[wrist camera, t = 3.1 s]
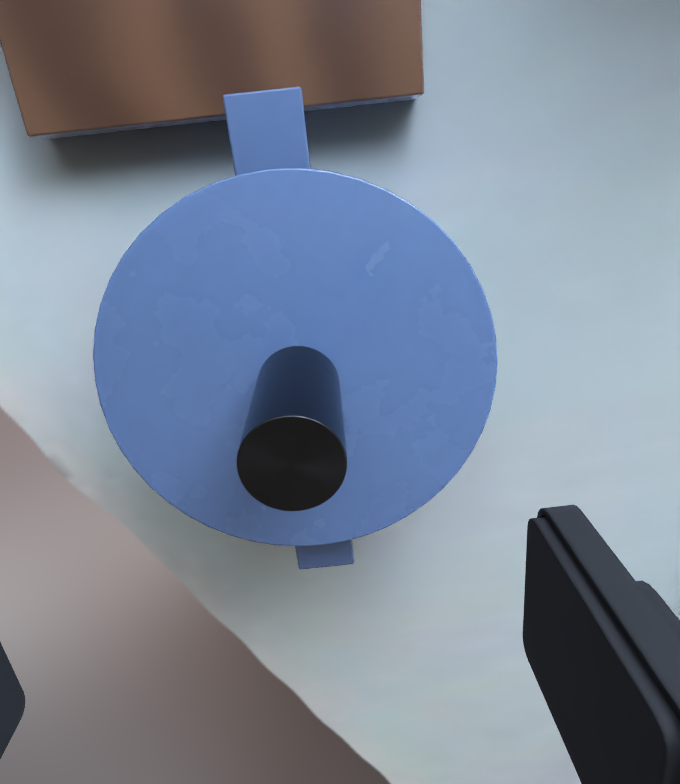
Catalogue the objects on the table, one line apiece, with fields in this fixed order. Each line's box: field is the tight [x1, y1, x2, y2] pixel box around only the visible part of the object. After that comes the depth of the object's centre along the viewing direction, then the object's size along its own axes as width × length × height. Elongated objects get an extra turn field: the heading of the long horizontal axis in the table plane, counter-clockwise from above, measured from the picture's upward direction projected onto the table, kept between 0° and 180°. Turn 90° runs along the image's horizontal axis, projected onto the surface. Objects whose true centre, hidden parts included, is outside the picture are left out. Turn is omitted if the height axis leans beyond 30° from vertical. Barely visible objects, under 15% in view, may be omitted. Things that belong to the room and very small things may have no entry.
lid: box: [93, 168, 497, 546], centre depth 17 cm, size 14×14×7 cm
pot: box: [223, 87, 354, 569], centre depth 23 cm, size 13×18×8 cm
